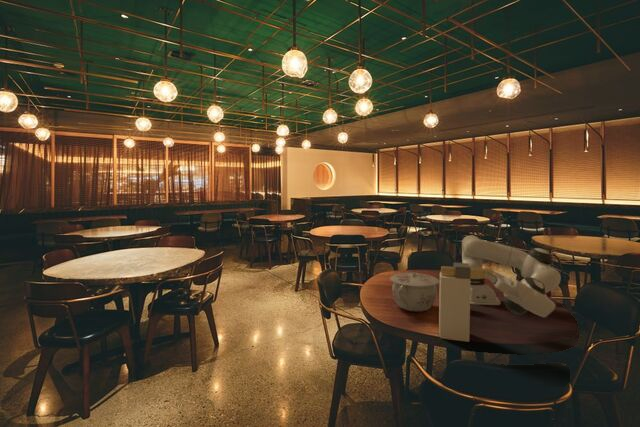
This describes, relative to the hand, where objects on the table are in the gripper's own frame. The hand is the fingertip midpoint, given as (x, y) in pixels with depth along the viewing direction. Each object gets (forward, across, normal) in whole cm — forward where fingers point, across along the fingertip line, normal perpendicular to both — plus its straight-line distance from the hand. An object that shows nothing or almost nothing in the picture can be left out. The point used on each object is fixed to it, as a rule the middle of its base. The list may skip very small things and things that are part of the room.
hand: (482, 272), depth 136 cm
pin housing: (-5, 0, -32) cm, 32 cm away
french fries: (-51, +63, -6) cm, 81 cm away
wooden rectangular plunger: (+5, 0, -5) cm, 7 cm away
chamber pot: (+11, +31, -42) cm, 53 cm away
